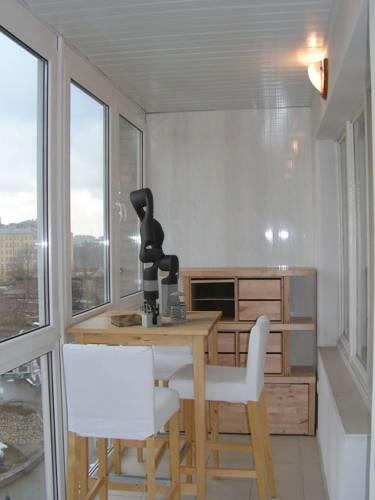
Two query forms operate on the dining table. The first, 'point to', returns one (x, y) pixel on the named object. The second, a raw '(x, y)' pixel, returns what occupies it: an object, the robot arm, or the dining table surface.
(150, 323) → the small crate
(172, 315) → the french press
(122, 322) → the brown flat block
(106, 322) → the dining table surface
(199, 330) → the dining table surface
